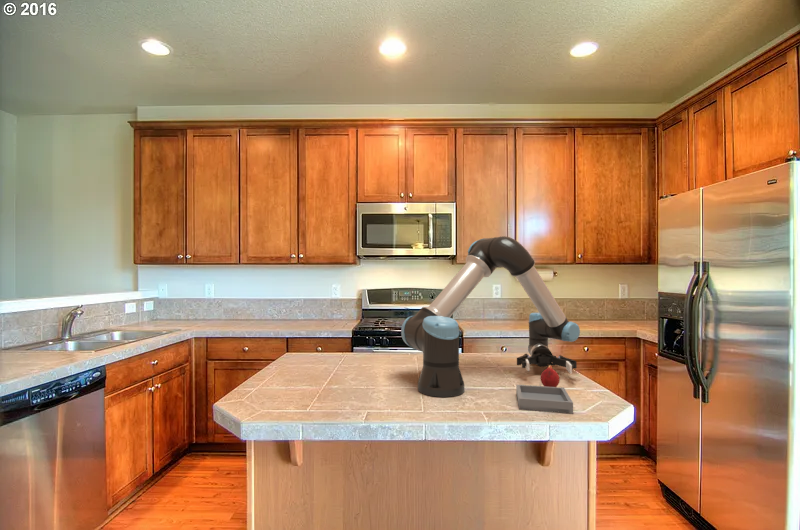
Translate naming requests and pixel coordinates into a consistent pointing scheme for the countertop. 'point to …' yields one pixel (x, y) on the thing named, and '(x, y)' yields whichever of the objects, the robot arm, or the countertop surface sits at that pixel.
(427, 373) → the robot arm
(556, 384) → the onion
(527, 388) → the bin
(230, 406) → the countertop surface
